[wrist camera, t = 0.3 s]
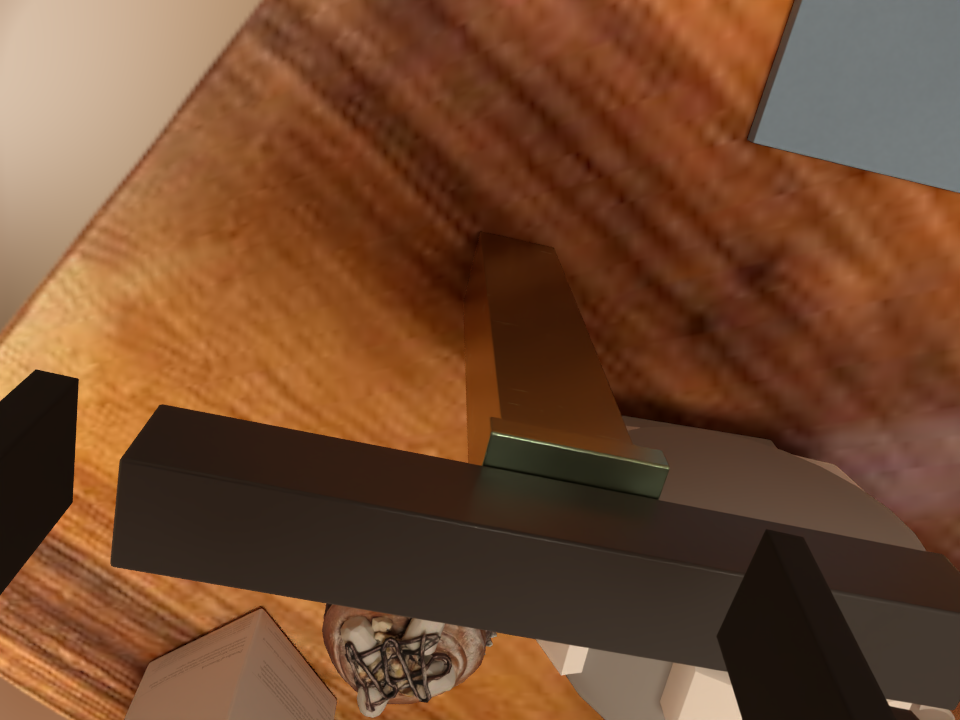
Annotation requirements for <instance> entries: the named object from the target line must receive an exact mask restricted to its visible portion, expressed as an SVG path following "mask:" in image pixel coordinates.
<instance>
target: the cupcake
mask: <svg viewBox="0 0 960 720" xmlns="http://www.w3.org/2000/svg"><path fill="white" fill-rule="evenodd" d="M322 632H323V638H324V644H325V646H326V649H327V651H328V654H329V656H330V658H331V661H332V663H333V664H334V666H335V668H336V669H337V671H338V673H339V674H340V675H341V677H342V678H343V679H344V680H345V681H346V682H347V683H348V684H349V685H350V686H351V687H352V688H353V689H354V690H355V691H356V692H358V695H357V702H358V706H359V709H360V712H361V713H363V714H364V715H365V716H368V717H376V716H379V715H380V714H381V713H382V711H383V710H384V708H385V706H386V704H412V703H416V702H428V701H429V700H430V699H431V698H432V697H434V696H437V695H440V694H442V693H444V692H446V691H449V690H450V689H451V688H453V687H455V686H457V685H459V684H460V683H462V682H464V681H465V680H466V679H467V678H468V677H469V676H470V675H471V674H472V673H473V672H475V670H476V669H477V668H478V667H479V666H480V665H481V663H482V660H483V657H484V655H485V647H486V646H489V647H491V646H492V645H493V644H492V641H491V638H492V637H496V636H497V634H496V632H491V631H486V630H480V629H474V628H468V627H462V626H456V625H450V624H445V623H439V622H433V621H427V620H421V619H415V618H410V617H404V616H398V615H392V614H386V613H380V612H374V611H369V610H363V609H357V608H351V607H345V606H339V605H334V604H328V603H326V609H325V614H324V622H323V628H322Z"/></svg>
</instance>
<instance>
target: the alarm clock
mask: <svg viewBox="0 0 960 720" xmlns="http://www.w3.org/2000/svg"><path fill="white" fill-rule="evenodd" d="M622 418H623V420H624V423H625V425H626V428H627V430H628V433H629V435H630V438H631V440H632V443H633V445H637V446H642V447H647V448H652V449H657V450H661V451H663V453H664V455H665V457H666V459H667V462H668V464H669V466H670V470H669V472H668V475H667V478H666V481H665V484H664V486H663V489H662V492H661V495H660V498H659V500H662V501H667V502H672V503H678V504H683V505H688V506H693V507H698V508H704V509H709V510H714V511H719V512H724V513H730V514H735V515H740V516H745V517H750V518H756V519H761V520H766V521H771V522H776V523H782V524H787V525H792V526H797V527H802V528H808V529H813V530H818V531H823V532H828V533H834V534H839V535H844V536H849V537H854V538H860V539H865V540H870V541H875V542H880V543H886V544H891V545H896V546H901V547H906V548H912V549H917V550H922V551H926V550H925V548H924V547H923V545H922V544H921V542H920V541H919V539H918V538H917V536H916V535H915V533H914V532H913V531H912V530H911V529H910V528H908V527H907V526H906V525H905V524H904V523H903V522H902V521H901V520H900V519H899V518H898V517H897V516H896V515H895V514H894V513H893V512H892V511H891V510H890V509H888V508H887V507H886V506H884V505H883V504H881V503H880V502H879V501H877V500H876V499H874V498H873V497H871V496H870V495H869V494H867V493H866V492H865V491H864V490H862V489H861V488H860V487H859V486H858V485H857V484H856V483H855V482H854V481H853V480H851V479H850V478H849V477H848V476H847V475H846V474H845V473H844V472H843V471H841V470H840V469H839V468H838V467H837V466H836V465H834V464H830V463H826V462H822V461H817V460H813V459H809V458H805V457H801V456H796V455H792V454H790V453H788V452H785V451H783V450H780V449H777V448H776V446H775V445H774V443H773V442H772V441H771V440H768V439H762V438H756V437H750V436H744V435H738V434H732V433H725V432H719V431H713V430H707V429H701V428H695V427H689V426H683V425H677V424H670V423H664V422H658V421H652V420H646V419H640V418H634V417H628V416H622ZM536 640H537V642H538V643H539V645H540V646H541V648H542V649H543V650H544V652H545V653H546V655H547V656H548V657H549V659H550V660H551V662H552V663H553V665H554V666H555V667H556V669H557V670H558V672H559V673H560V675H566V676H567V678H568V679H569V681H570V682H571V684H572V685H573V687H574V688H575V690H576V691H577V692H578V694H579V695H580V696H581V697H582V698H583V699H584V700H585V701H586V702H587V703H588V704H589V705H590V706H591V707H592V708H593V709H594V710H595V711H597V712H598V713H599V714H600V715H601V716H602V717H603V718H604V719H605V720H742V717H741V714H740V711H739V707H738V704H737V701H736V698H735V695H734V691H733V688H732V685H731V682H730V678H729V675H728V672H725V671H719V670H713V669H708V668H702V667H696V666H690V665H684V664H678V663H673V662H667V661H661V660H655V659H649V658H643V657H637V656H632V655H626V654H620V653H614V652H608V651H602V650H597V649H591V648H585V647H579V646H573V645H567V644H561V643H556V642H550V641H544V640H538V639H536ZM886 700H887V702H888V704H889V706H892V707H897V708H902V709H907V710H909V709H910V707H911V705H912V703H906V702H900V701H895V700H889V699H886Z"/></svg>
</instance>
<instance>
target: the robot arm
mask: <svg viewBox="0 0 960 720" xmlns="http://www.w3.org/2000/svg"><path fill="white" fill-rule="evenodd" d="M78 382H79V379H77V378H73V377H68V376H64V375H59V374H55V373H50V372H45V371H41V370H35V371H34V372H32V373H31V374H30V375H29V376H28V377H27V378H26V379H25V380H24V381H22V382H21V383H20V384H19V385H18V386H17V387H16V388H15V389H14V390H12V391H11V392H10V393H9V394H8V395H7V396H6V397H5V398H3V399H2V400H1V401H0V595H1V593H2V592H3V591H4V590H5V588H6V587H7V586H8V585H9V583H10V582H11V581H12V579H13V578H14V577H15V576H16V574H17V573H18V572H19V570H20V569H21V568H22V567H23V565H24V564H25V563H26V561H27V560H28V559H29V558H30V556H31V555H32V554H33V552H34V551H35V550H36V549H37V547H38V546H39V545H40V543H41V542H42V541H43V540H44V538H45V537H46V536H47V534H48V533H49V532H50V531H51V529H52V528H53V527H54V525H55V524H56V523H57V522H58V520H59V519H60V518H61V517H62V515H63V514H64V513H65V511H66V510H67V509H68V508H69V506H70V505H71V504H72V502H73V482H74V462H75V442H76V422H77V402H78ZM717 640H718V643H719V646H720V649H721V652H722V656H723V659H724V662H725V665H726V669H727V672H728V675H729V678H730V682H731V685H732V688H733V691H734V695H735V698H736V701H737V704H738V707H739V711H740V714H741V717H742V720H919V719H918V717H917V716H916V715H915V714H914V713H913V712H912V711H911V710H907V709H902V708H897V707H892V706H889V704H888V702H887V700H886V698H885V696H884V694H883V692H882V690H881V688H880V686H879V684H878V682H877V681H876V679H875V677H874V675H873V673H872V671H871V669H870V667H869V665H868V663H867V661H866V659H865V657H864V655H863V653H862V651H861V649H860V647H859V645H858V643H857V641H856V639H855V637H854V635H853V633H852V631H851V629H850V627H849V626H848V624H847V622H846V620H845V618H844V616H843V614H842V612H841V610H840V608H839V606H838V604H837V602H836V600H835V598H834V596H833V594H832V592H831V590H830V588H829V586H828V584H827V582H826V580H825V578H824V576H823V574H822V572H821V571H820V569H819V567H818V565H817V563H816V561H815V559H814V557H813V555H812V553H811V551H810V549H809V547H808V545H807V543H806V541H805V539H804V537H801V536H796V535H792V534H787V533H782V532H778V531H773V530H769V529H766V530H765V532H764V534H763V536H762V538H761V541H760V543H759V545H758V547H757V549H756V551H755V554H754V556H753V558H752V560H751V562H750V564H749V567H748V569H747V571H746V573H745V575H744V577H743V580H742V582H741V584H740V586H739V588H738V590H737V593H736V595H735V597H734V599H733V601H732V603H731V606H730V608H729V610H728V612H727V614H726V616H725V619H724V621H723V623H722V625H721V627H720V629H719V632H718V634H717Z"/></svg>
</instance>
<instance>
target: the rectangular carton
mask: <svg viewBox="0 0 960 720" xmlns="http://www.w3.org/2000/svg"><path fill="white" fill-rule="evenodd" d="M336 703H337V700H336V699H335V697H334V696H333V695H332V694H331V692H330V691H329V690H328V689H327V688H326V686H325V685H324V684H323V682H322V681H321V680H320V679H319V677H318V676H317V675H316V674H315V672H314V671H313V670H312V669H311V667H310V666H309V665H308V664H307V662H306V661H305V660H304V659H303V657H302V656H301V655H300V654H299V652H298V651H297V650H296V649H295V648H294V646H293V645H292V644H291V643H290V641H289V640H288V639H287V638H286V636H285V635H284V634H283V633H282V631H281V630H280V629H279V628H278V626H277V625H276V624H275V623H274V621H273V620H272V619H271V618H270V616H269V615H268V614H267V613H266V612H265V610H263V609H259V610H257V611H255V612H252V613H250V614H248V615H246V616H244V617H242V618H240V619H238V620H236V621H234V622H232V623H230V624H228V625H226V626H224V627H222V628H220V629H218V630H215V631H213V632H211V633H209V634H207V635H205V636H203V637H201V638H199V639H197V640H195V641H193V642H191V643H189V644H187V645H185V646H183V647H180V648H178V649H176V650H174V651H172V652H170V653H168V654H166V655H164V656H162V657H160V658H158V659H156V660H154V661H152V662H151V663H149V665H148V667H147V669H146V671H145V674H144V676H143V678H142V680H141V683H140V685H139V687H138V689H137V692H136V694H135V696H134V698H133V700H132V703H131V705H130V707H129V709H128V712H127V714H126V716H125V718H124V720H334V715H335V709H336Z"/></svg>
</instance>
